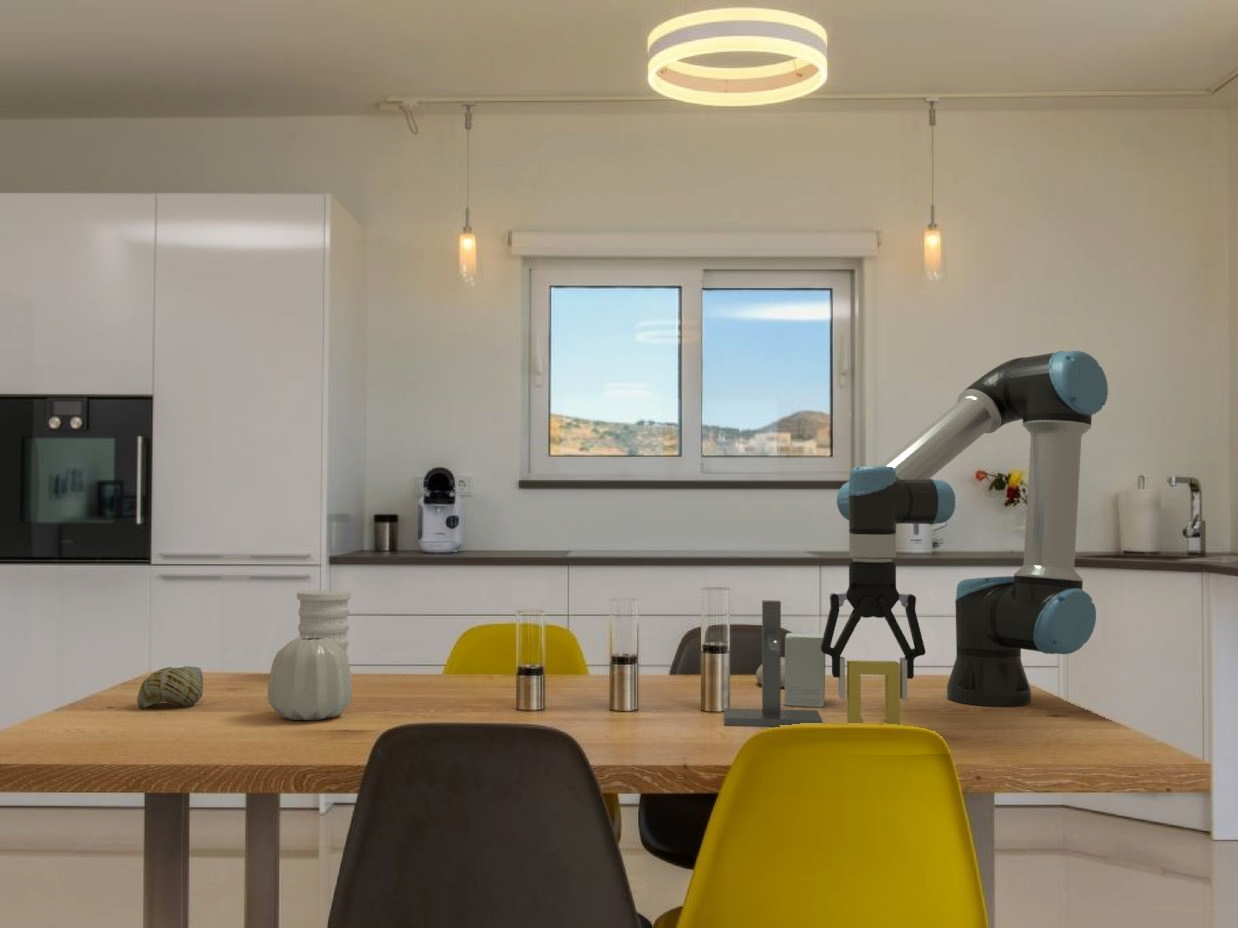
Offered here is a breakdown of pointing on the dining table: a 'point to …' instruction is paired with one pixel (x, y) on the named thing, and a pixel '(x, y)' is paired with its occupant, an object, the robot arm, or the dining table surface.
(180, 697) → the seashell
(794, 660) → the supplement box
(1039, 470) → the robot arm
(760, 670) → the stone
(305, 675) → the vase
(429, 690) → the dining table surface
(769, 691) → the stand
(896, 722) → the c link
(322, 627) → the decorative container
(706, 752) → the dining table surface
